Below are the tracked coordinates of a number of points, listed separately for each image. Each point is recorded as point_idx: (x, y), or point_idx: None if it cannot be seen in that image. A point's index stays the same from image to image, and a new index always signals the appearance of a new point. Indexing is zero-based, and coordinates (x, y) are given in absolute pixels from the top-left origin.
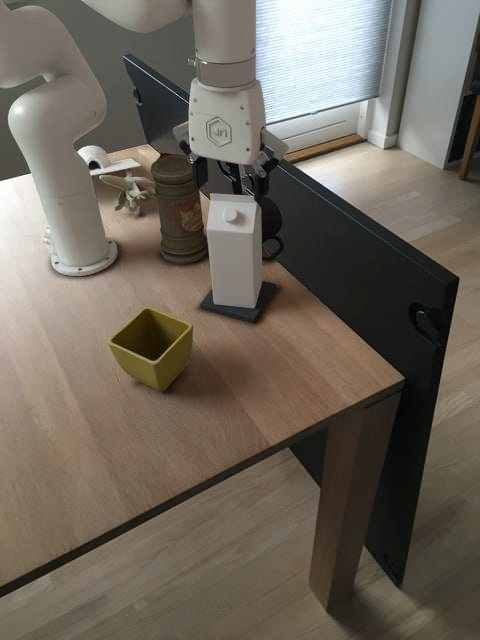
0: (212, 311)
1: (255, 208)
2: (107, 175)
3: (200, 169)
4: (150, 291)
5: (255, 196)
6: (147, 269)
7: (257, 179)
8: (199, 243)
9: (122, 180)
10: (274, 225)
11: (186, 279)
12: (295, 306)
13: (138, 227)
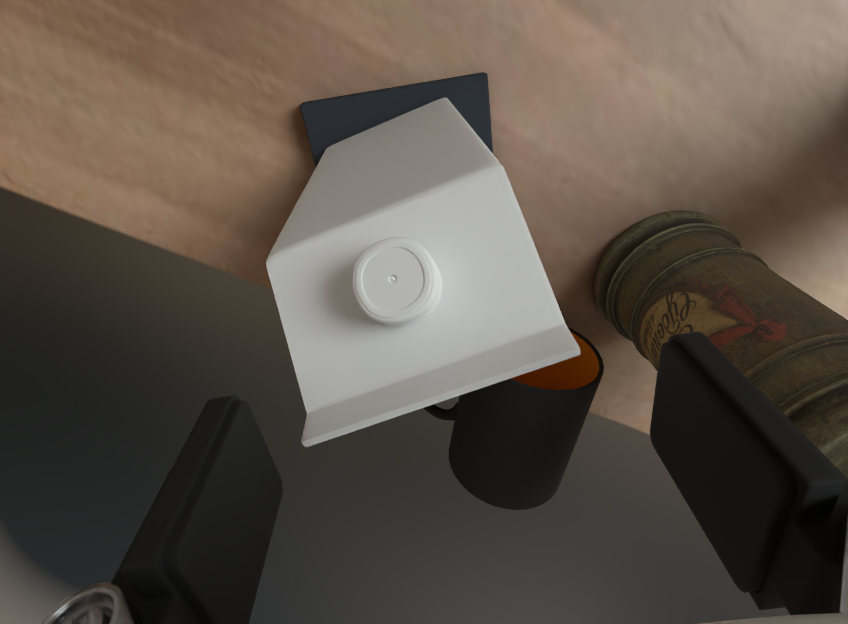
0: (442, 79)
1: (301, 383)
2: None
3: (736, 469)
4: (676, 56)
5: (213, 420)
6: (733, 146)
7: (134, 551)
8: (621, 293)
9: None
10: (455, 439)
11: (594, 169)
12: (257, 230)
13: (837, 292)
